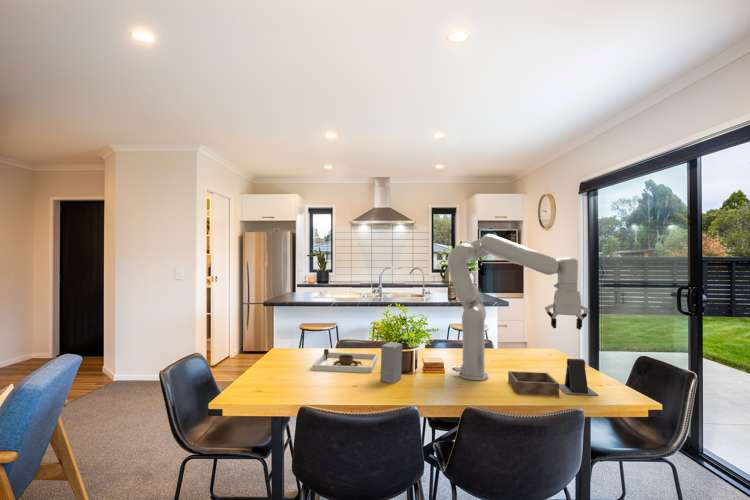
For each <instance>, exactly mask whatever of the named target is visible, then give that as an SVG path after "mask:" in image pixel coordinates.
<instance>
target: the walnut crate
mask: <svg viewBox="0 0 750 500" xmlns="http://www.w3.org/2000/svg"><path fill="white" fill-rule="evenodd" d="M507 373H508V375H507V376H508V380H507V382H508V384H509V385H510V386H511V388H512V389H513V391H514V392H515V394H517V393H518V395H519V394H521V395H538V394H540V396H542V395H543V396H560V388H559V384H560V383H559V381H557V380H556V379H555V378H553V376H551V375H550V374H549V372H537V371H534V372H533V371H511V370H510V371H508V372H507Z"/></svg>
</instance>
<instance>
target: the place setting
mask: <svg viewBox="0 0 750 500" xmlns="http://www.w3.org/2000/svg"><path fill="white" fill-rule="evenodd" d="M329 352H330V351H329V349H327V348H325V349H323V354H324V355H326V357H325V361H328V357H327V355H328V353H329ZM351 364H352V365H351ZM359 364H360V366H363V364H362V361H360V360H358V361H356V360H354V358H353V356H352V355H341V356H339V358H338V360H336V361H334V362H333V365H337V366H340V365H341V366H358V365H359ZM324 365H327V363H326V362H325V364H324Z"/></svg>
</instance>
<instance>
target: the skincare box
mask: <svg viewBox="0 0 750 500" xmlns="http://www.w3.org/2000/svg"><path fill="white" fill-rule="evenodd" d="M402 361H403V343H399V342H395V341H389V342H387V343H385V344H381V352H380V382H383V383H387V384H392V385H393V384H395V383H397V382H398V381H400V380H402V370H403V369H402V368H403V367H402V364H403V362H402Z"/></svg>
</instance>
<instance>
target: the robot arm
mask: <svg viewBox="0 0 750 500" xmlns="http://www.w3.org/2000/svg"><path fill="white" fill-rule="evenodd" d="M488 255H492V256H495V257H498V258H500V259H502V260H505V261H508V262H509V263H510V262H511V263H512V264H515V265H520V266H523V267H526V268H528V269H531V270H532V271H533V270H534V271H536V272H537V273H541V274H544V275H545V276H552V275H555V274H557V283H554V284H553V287H554V288H556V289H555V291H554V296H553V303H551V304H548V305H547V306H545V307H544V311H545V312H546V314H547V315H548V316H549V317H550V319H551V320H550V326H551V327H552V329H556V328H557V318H556V317H557V316H559V315H561V316H576V327H575V328H576V329H577V330H581V329H582V328H583V320H584V319H585V318H586V317H587V316H588V314H589V313H590V309H589V308H587V307H585V306H583V305H582V298H581V293H580V291H579V290H578V276H579V275H578V273H579V272H578V271H579V270H578V269H579V267H578V266H579V261H578V259H577V258H574V257H560V258H557V257H553V256H550V255H547V254H544V253H541V252H538V251H536V250H534V249H531V248H529V247H526V246H524V245H521V244H519V243H517V242H513V241H512V240H510V239H509V240H508V239H506V238H504V237H500V236H498V235H495V234H492V233H487V234H484V235H482V236H481V238H479V239H476V240H473V241H471V242H467V243H466V242H463V243H460V244H458V245H455V247H454V248H453V249H452V250H451V252H450V254H449V256H448V259H447V268H448V272H449V276H450V278H451V283H452V285H453V288H454V292H455V295H456V298H457V300H458V301H459V302H460V303H461V305H462V307H463V312H462V316H461V325H462V327H461V328H462V364H461V365H459V366H452V368H451V370H452V371H453V372H456V373H458V376H459V377H460V378H461V379H464V380H468V381H485V380H487V379H489V374H488V373H487V372H485V320H486V317H487V312H486V309H485V305H484V302H483V299H482V297H481V293H480V291H479V288H478V287H477V285H476V284H475V283H474V282H473V281H472V278H471V274H470V271H469V269H468V268H469V267H468V262H469V263H470V262H472V261H475V260H478V259H480V258H484V257H487V256H488ZM551 309H552V312H551ZM581 331H582V330H581Z"/></svg>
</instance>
